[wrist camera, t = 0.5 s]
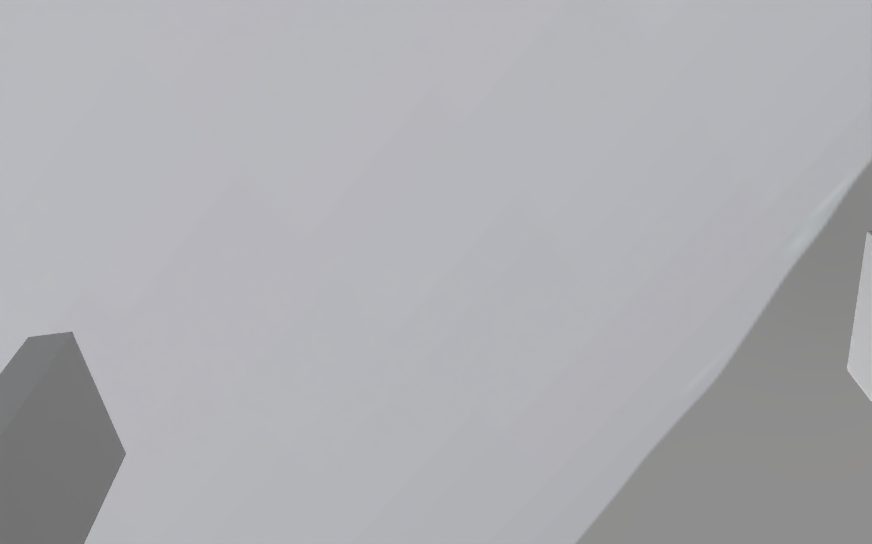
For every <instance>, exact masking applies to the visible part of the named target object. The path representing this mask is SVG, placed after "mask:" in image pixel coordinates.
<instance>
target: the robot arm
mask: <svg viewBox="0 0 872 544" xmlns="http://www.w3.org/2000/svg"><path fill="white" fill-rule="evenodd" d="M847 370H848V371H849V373H850V374H851V376H852V377H853V378H854V379H855V381H856V382H857V383H858V385H859V386H860V387H861V389H862V390H863V391H864V392H865V394H866V395H867V396H868V398H869V399H870V400H871V401H872V231H868V232H867V237H866V243H865V250H864V257H863V264H862V271H861V277H860V285H859V291H858V298H857V306H856V312H855V319H854V326H853V332H852V339H851V346H850V353H849V360H848V366H847ZM125 455H126V453H125V451H124V448H123V446H122V444H121V442H120V439H119V437H118V435H117V433H116V430H115V428H114V426H113V424H112V421H111V419H110V417H109V414H108V412H107V410H106V408H105V405H104V403H103V401H102V399H101V396H100V394H99V392H98V390H97V387H96V385H95V383H94V380H93V378H92V376H91V374H90V371H89V369H88V367H87V365H86V362H85V360H84V358H83V356H82V353H81V351H80V349H79V347H78V344H77V342H76V340H75V337H74V335H73V333H72V332H66V333H58V334H50V335H42V336H34V337H28V338H27V340H26V341H25V342H24V344H23V345H22V346H21V347H20V349H19V350H18V351H17V353H16V354H15V355H14V357H13V358H12V359H11V361H10V362H9V363H8V365H7V366H6V367H5V369H4V370H3V371H2V372H1V374H0V544H84V542H85V540H86V538H87V536H88V534H89V532H90V530H91V527H92V525H93V523H94V521H95V519H96V517H97V515H98V512H99V510H100V508H101V506H102V504H103V502H104V500H105V497H106V495H107V493H108V491H109V489H110V487H111V485H112V483H113V480H114V478H115V476H116V474H117V472H118V470H119V468H120V465H121V463H122V461H123V459H124V457H125Z"/></svg>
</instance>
